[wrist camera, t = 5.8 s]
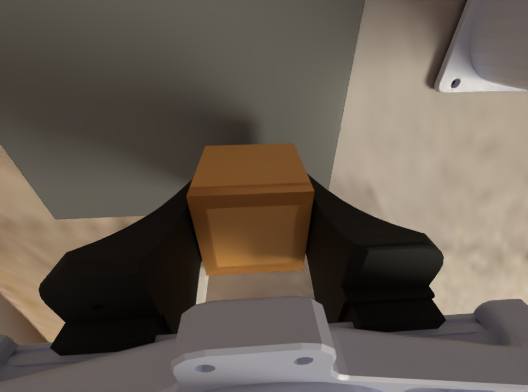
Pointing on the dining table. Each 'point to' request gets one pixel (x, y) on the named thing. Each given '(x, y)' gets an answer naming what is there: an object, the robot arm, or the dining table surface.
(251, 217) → the orange panelled cube
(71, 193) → the board
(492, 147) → the dining table surface
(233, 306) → the robot arm
